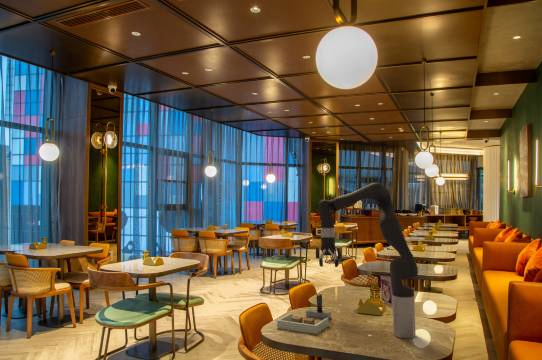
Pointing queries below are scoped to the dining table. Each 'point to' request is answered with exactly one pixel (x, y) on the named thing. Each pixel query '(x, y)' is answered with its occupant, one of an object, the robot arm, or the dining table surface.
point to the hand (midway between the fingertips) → (328, 266)
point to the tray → (300, 325)
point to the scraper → (318, 310)
